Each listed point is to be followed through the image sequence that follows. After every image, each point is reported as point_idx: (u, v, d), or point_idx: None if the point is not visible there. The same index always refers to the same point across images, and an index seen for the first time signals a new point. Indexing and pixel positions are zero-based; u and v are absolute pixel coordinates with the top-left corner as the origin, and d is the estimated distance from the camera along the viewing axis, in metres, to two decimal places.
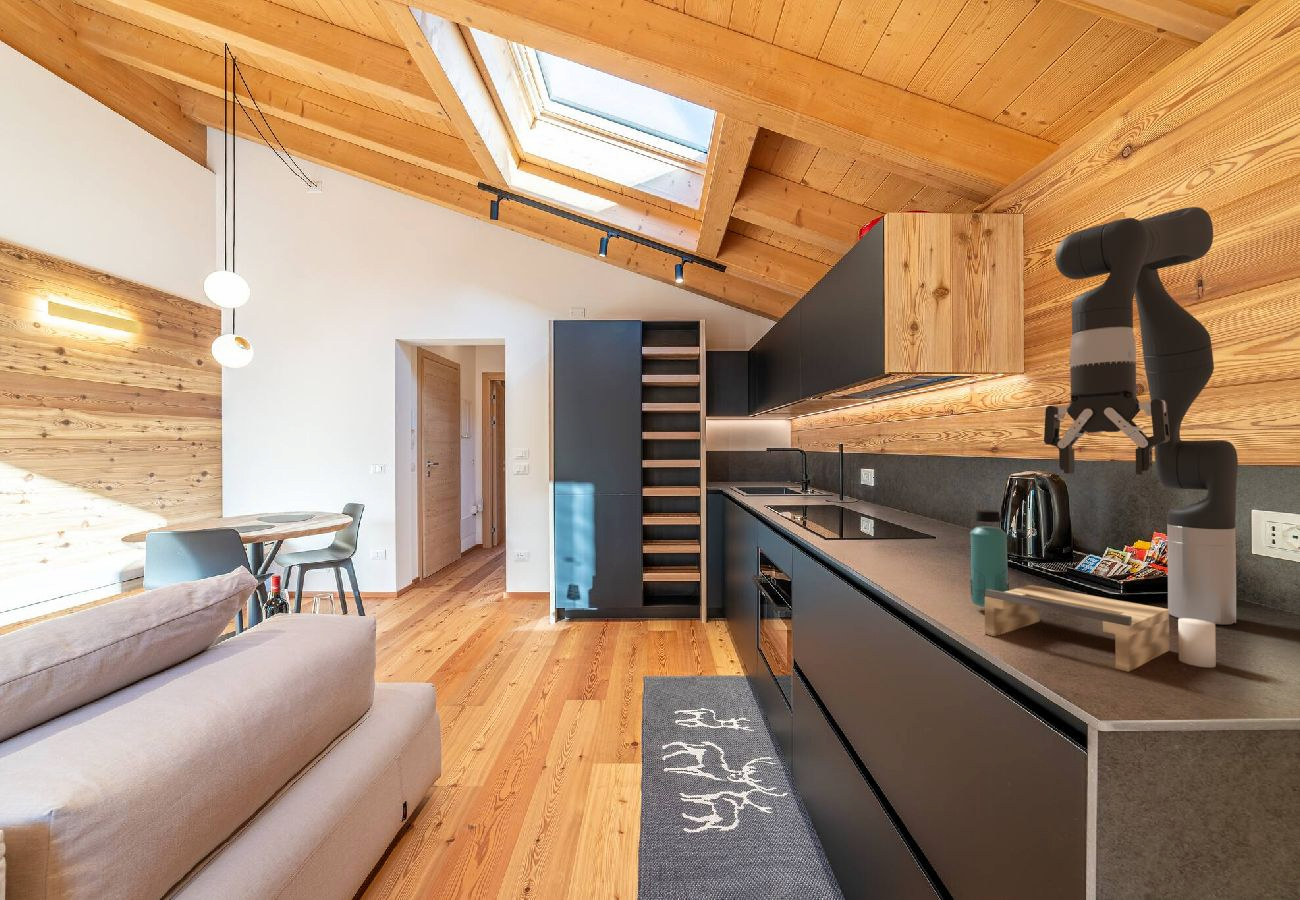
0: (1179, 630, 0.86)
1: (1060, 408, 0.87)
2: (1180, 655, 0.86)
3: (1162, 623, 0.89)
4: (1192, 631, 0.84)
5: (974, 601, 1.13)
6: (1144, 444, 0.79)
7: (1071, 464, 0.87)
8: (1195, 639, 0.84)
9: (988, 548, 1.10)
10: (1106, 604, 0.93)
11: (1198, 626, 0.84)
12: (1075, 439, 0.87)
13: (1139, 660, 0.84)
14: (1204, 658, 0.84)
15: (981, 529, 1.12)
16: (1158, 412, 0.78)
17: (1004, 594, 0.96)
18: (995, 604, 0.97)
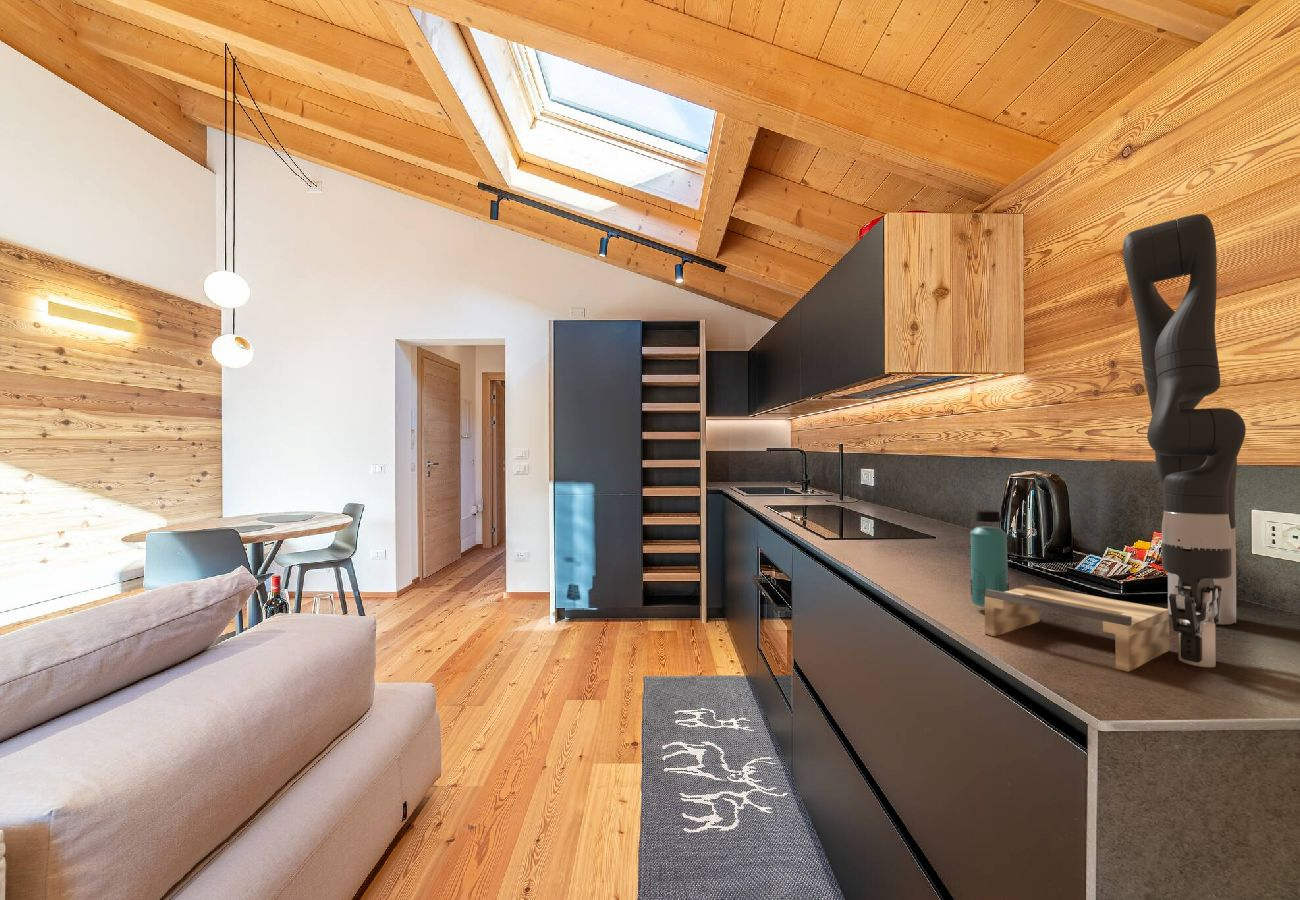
0: None
1: (1188, 595, 0.82)
2: (1180, 655, 0.86)
3: (1162, 623, 0.89)
4: None
5: (974, 601, 1.13)
6: None
7: None
8: None
9: (988, 548, 1.10)
10: (1106, 604, 0.93)
11: None
12: None
13: (1139, 660, 0.84)
14: (1204, 658, 0.84)
15: (981, 529, 1.12)
16: (1219, 597, 0.88)
17: (1004, 594, 0.96)
18: (995, 604, 0.97)
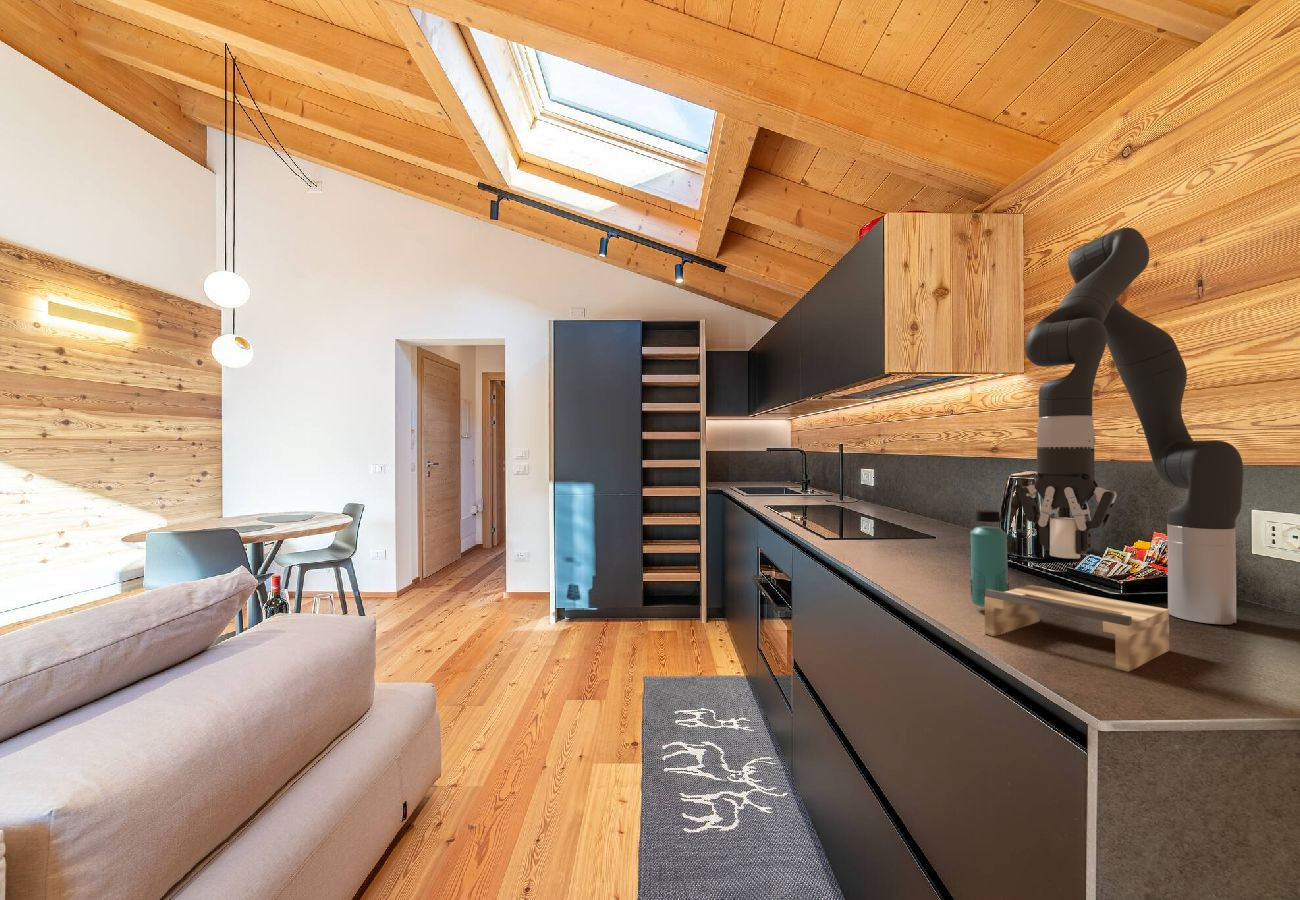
0: (1068, 529, 0.90)
1: None
2: (1070, 553, 0.90)
3: (1162, 623, 0.89)
4: None
5: (974, 601, 1.13)
6: None
7: None
8: None
9: (988, 548, 1.10)
10: (1106, 604, 0.93)
11: None
12: None
13: (1139, 660, 0.84)
14: None
15: (981, 529, 1.12)
16: None
17: (1004, 594, 0.96)
18: (995, 604, 0.97)
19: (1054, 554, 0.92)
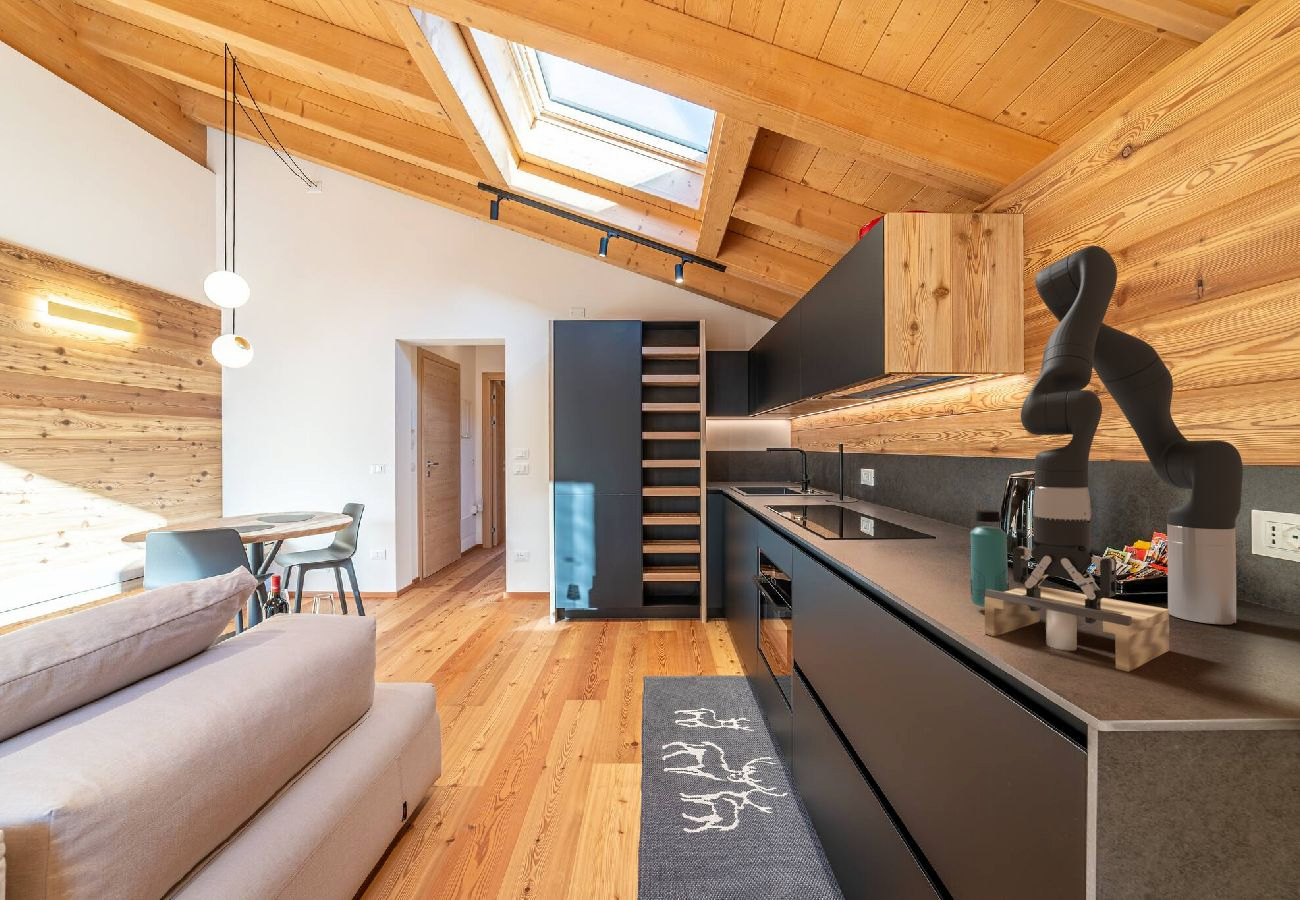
0: (1064, 621, 0.91)
1: None
2: (1066, 645, 0.91)
3: (1162, 623, 0.89)
4: (1075, 618, 0.91)
5: (974, 601, 1.13)
6: None
7: None
8: (1076, 625, 0.91)
9: (988, 548, 1.10)
10: (1106, 604, 0.93)
11: None
12: None
13: (1139, 660, 0.84)
14: None
15: (981, 529, 1.12)
16: None
17: (1004, 594, 0.96)
18: (995, 604, 0.97)
19: (1050, 645, 0.92)
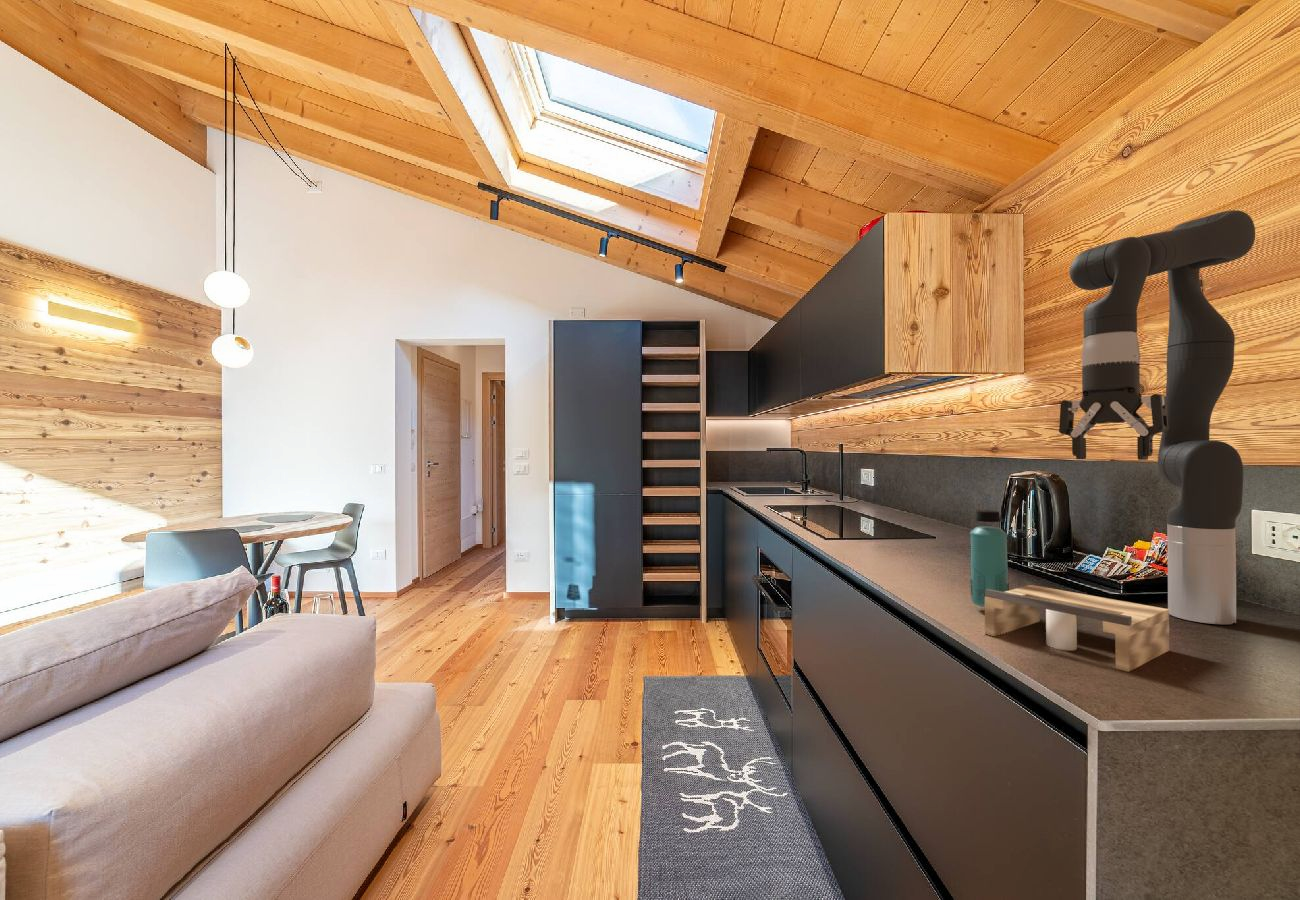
0: (1064, 621, 0.91)
1: None
2: (1066, 645, 0.91)
3: (1162, 623, 0.89)
4: (1075, 618, 0.91)
5: (974, 601, 1.13)
6: None
7: None
8: (1075, 625, 0.91)
9: (988, 548, 1.10)
10: (1106, 604, 0.93)
11: None
12: None
13: (1139, 660, 0.84)
14: None
15: (981, 529, 1.12)
16: None
17: (1004, 594, 0.96)
18: (995, 604, 0.97)
19: (1050, 645, 0.92)
